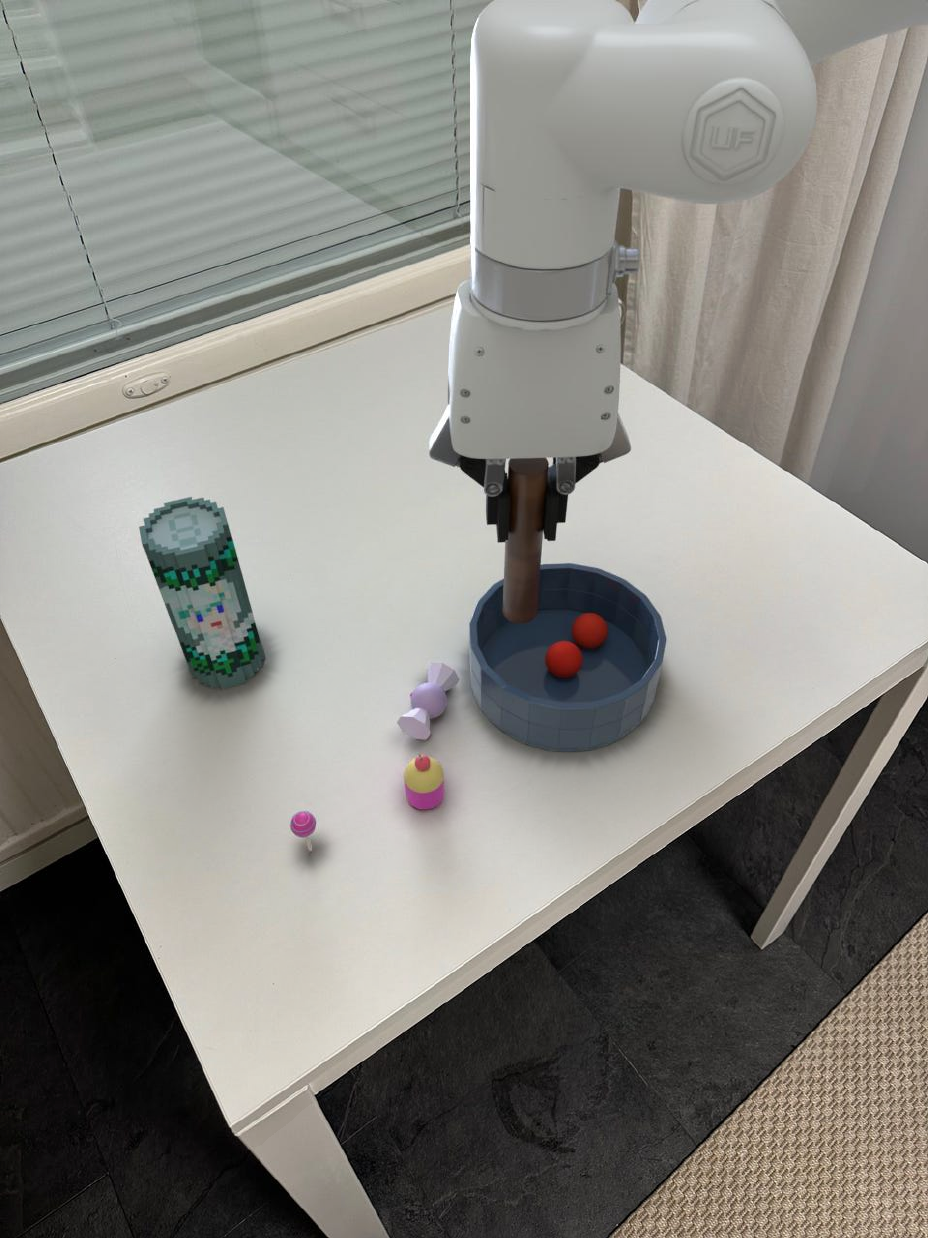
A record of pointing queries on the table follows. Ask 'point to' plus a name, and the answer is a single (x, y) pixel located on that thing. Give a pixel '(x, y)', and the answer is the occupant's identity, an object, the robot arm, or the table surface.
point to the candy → (422, 771)
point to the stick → (524, 537)
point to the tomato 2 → (589, 630)
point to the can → (203, 590)
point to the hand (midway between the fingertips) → (524, 526)
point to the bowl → (605, 684)
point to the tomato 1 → (563, 659)
